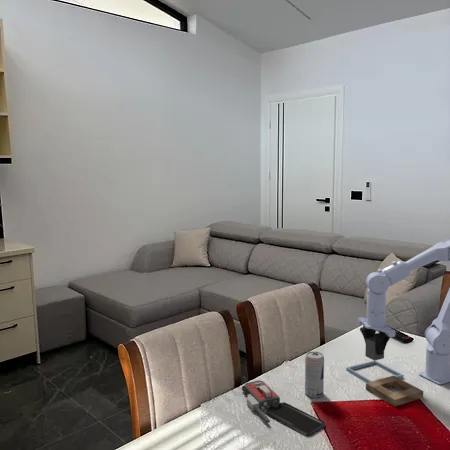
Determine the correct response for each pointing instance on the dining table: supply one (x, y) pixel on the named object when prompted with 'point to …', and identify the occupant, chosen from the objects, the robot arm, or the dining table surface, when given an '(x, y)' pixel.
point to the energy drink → (314, 374)
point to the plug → (372, 349)
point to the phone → (295, 419)
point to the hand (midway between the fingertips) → (375, 351)
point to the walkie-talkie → (260, 397)
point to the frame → (351, 368)
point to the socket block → (395, 399)
